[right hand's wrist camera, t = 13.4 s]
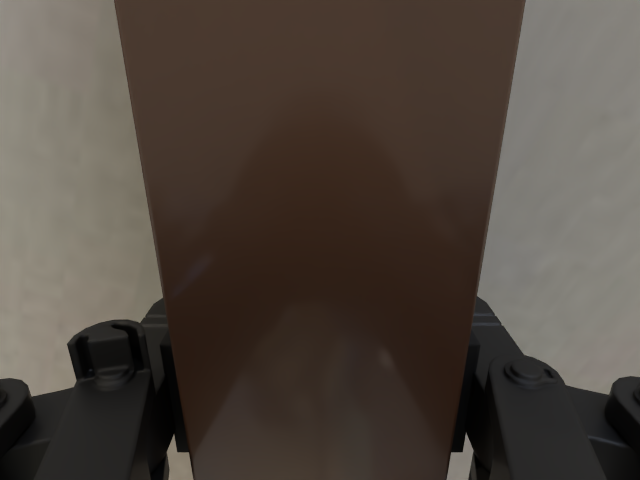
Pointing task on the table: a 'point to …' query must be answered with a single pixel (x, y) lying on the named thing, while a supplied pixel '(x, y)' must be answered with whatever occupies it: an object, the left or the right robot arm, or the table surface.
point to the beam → (319, 220)
